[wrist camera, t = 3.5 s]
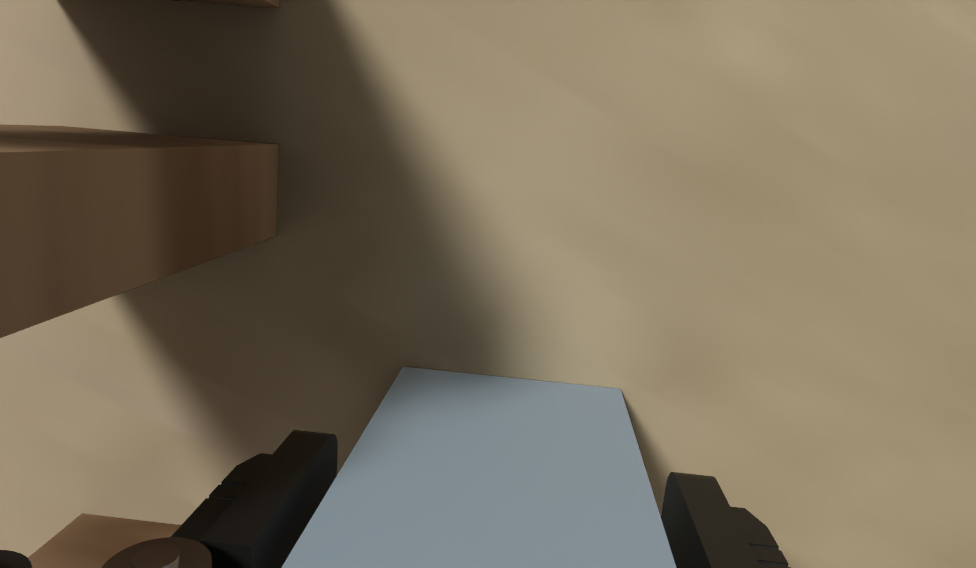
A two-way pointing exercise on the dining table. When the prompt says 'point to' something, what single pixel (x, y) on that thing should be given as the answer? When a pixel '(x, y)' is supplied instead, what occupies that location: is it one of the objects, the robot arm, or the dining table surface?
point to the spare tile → (489, 481)
